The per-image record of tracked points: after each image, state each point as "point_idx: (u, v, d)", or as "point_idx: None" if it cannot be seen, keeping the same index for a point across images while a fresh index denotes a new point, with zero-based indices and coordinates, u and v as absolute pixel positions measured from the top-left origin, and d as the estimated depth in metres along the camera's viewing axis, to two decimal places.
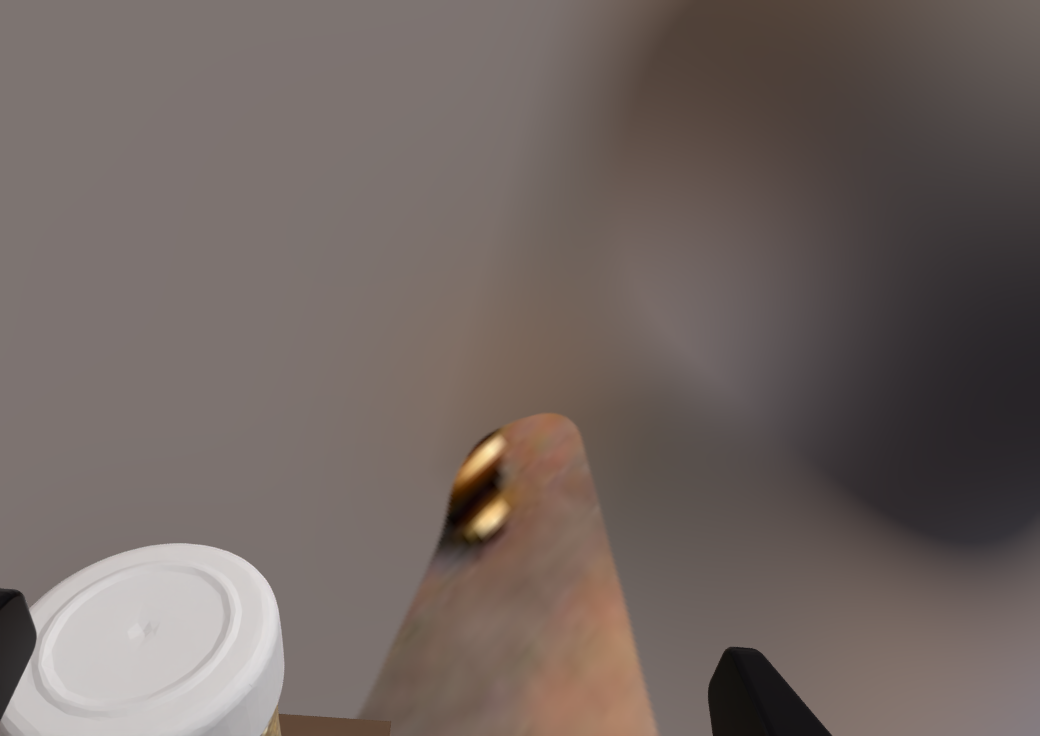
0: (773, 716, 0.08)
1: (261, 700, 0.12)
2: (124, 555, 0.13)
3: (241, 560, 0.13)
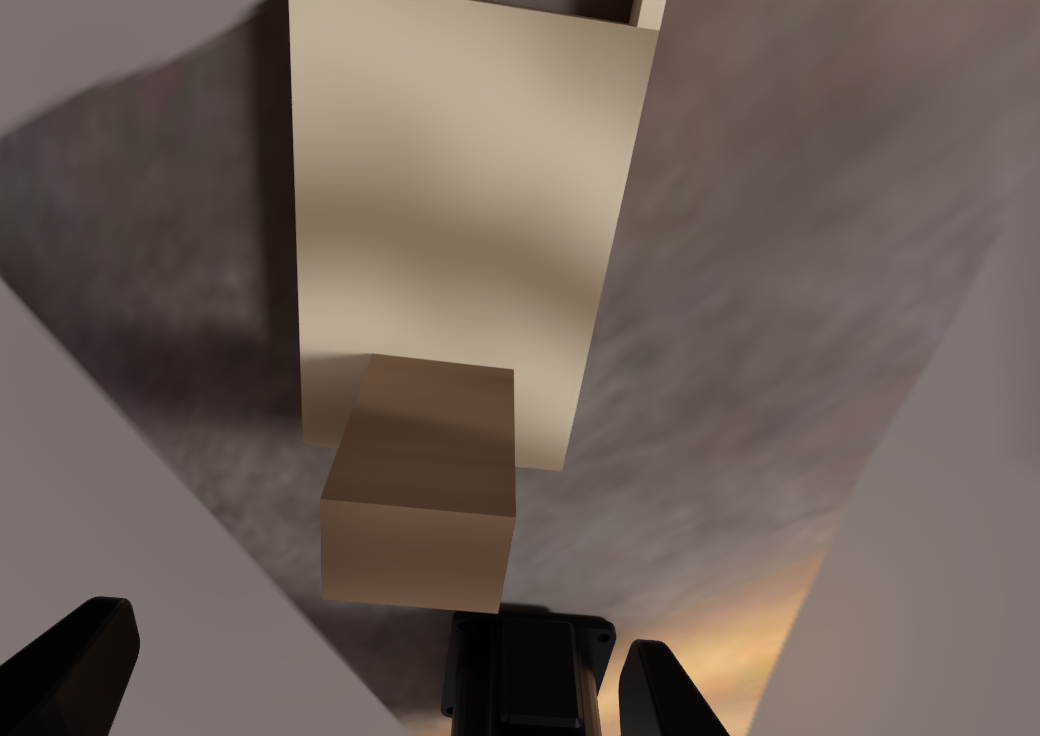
0: (667, 708, 0.08)
1: None
2: None
3: None
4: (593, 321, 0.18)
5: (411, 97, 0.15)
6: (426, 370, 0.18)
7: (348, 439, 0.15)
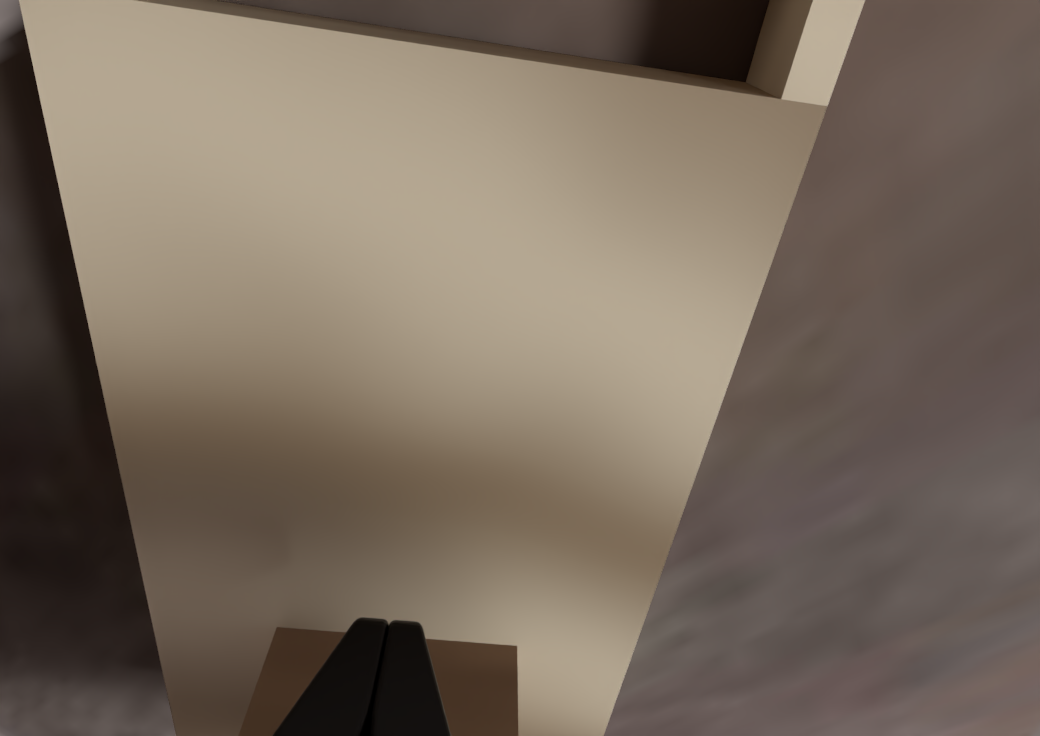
0: (388, 689, 0.07)
1: None
2: None
3: None
4: (655, 583, 0.11)
5: (311, 234, 0.08)
6: None
7: None
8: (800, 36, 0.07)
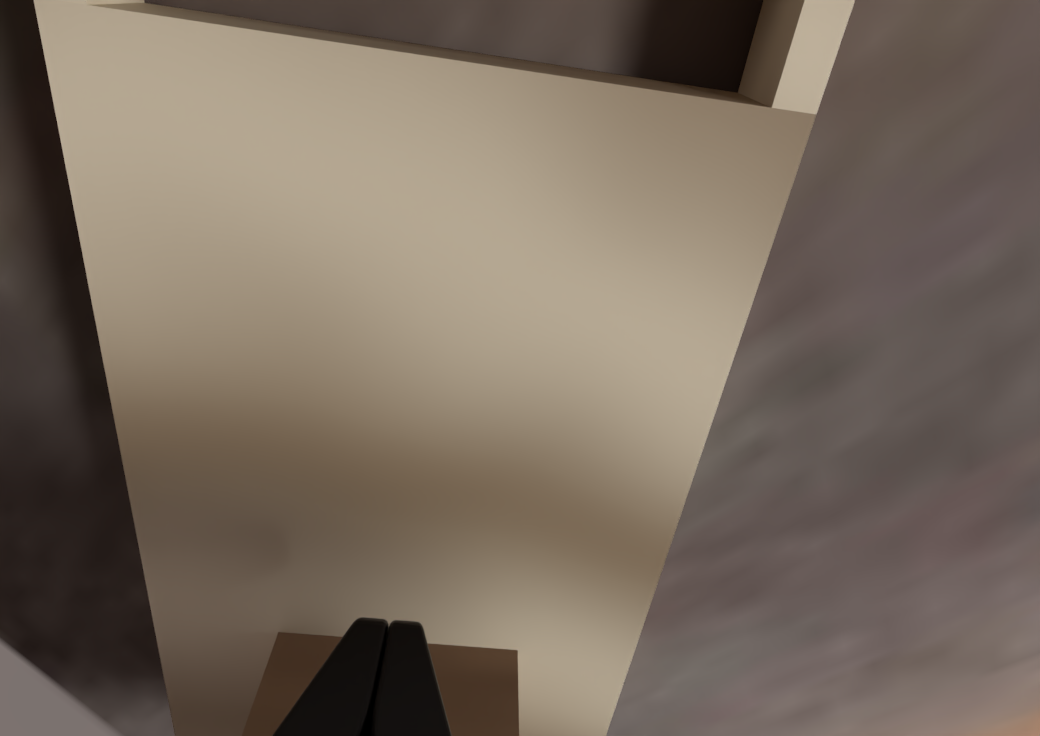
0: (388, 689, 0.07)
1: None
2: None
3: None
4: (654, 586, 0.11)
5: (315, 239, 0.08)
6: None
7: None
8: (789, 47, 0.07)
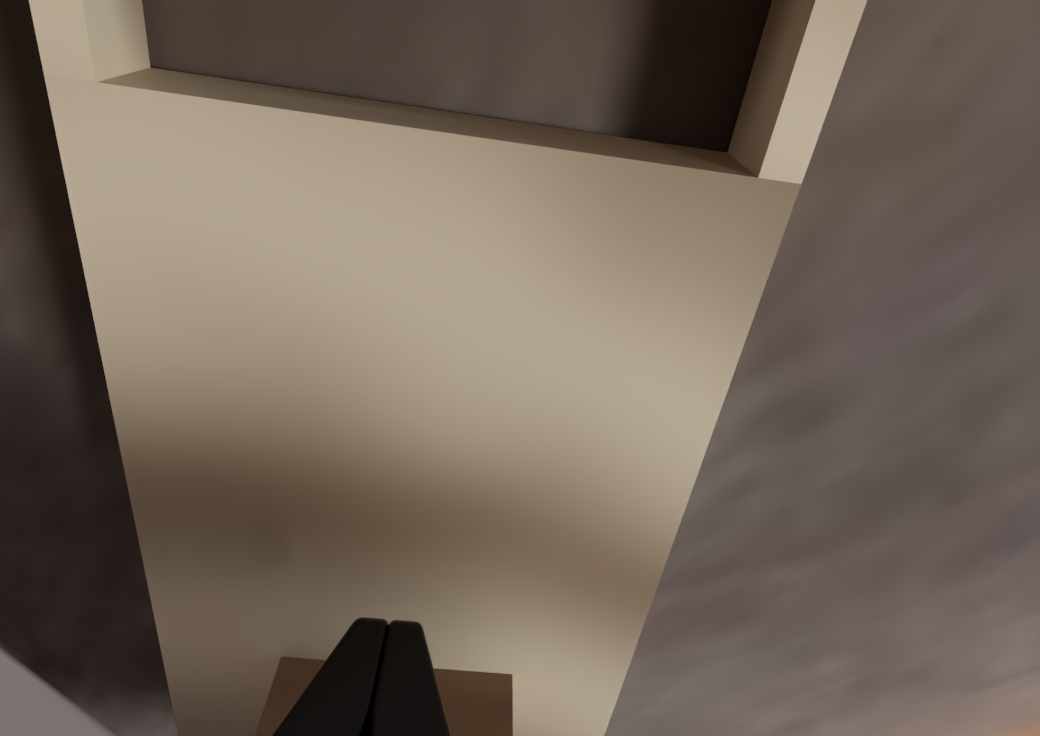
0: (388, 689, 0.07)
1: None
2: None
3: None
4: (644, 616, 0.11)
5: (317, 298, 0.08)
6: None
7: None
8: (775, 122, 0.07)
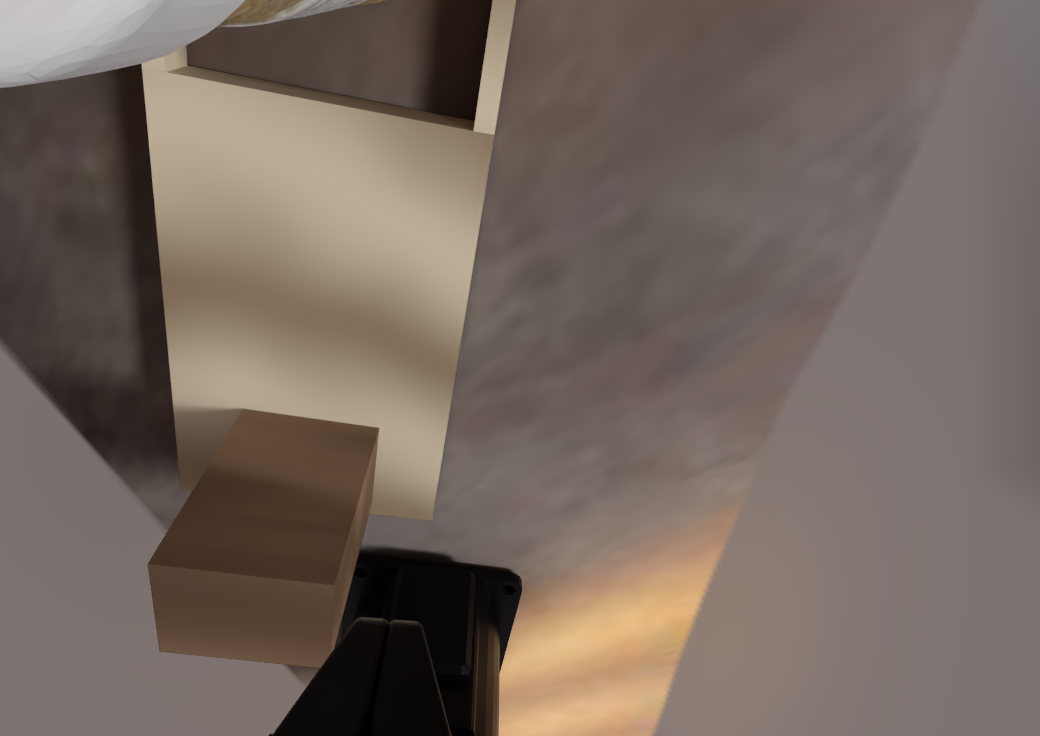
0: (388, 689, 0.07)
1: None
2: None
3: None
4: (451, 387, 0.19)
5: (265, 182, 0.16)
6: (291, 427, 0.19)
7: (192, 501, 0.16)
8: (477, 105, 0.15)
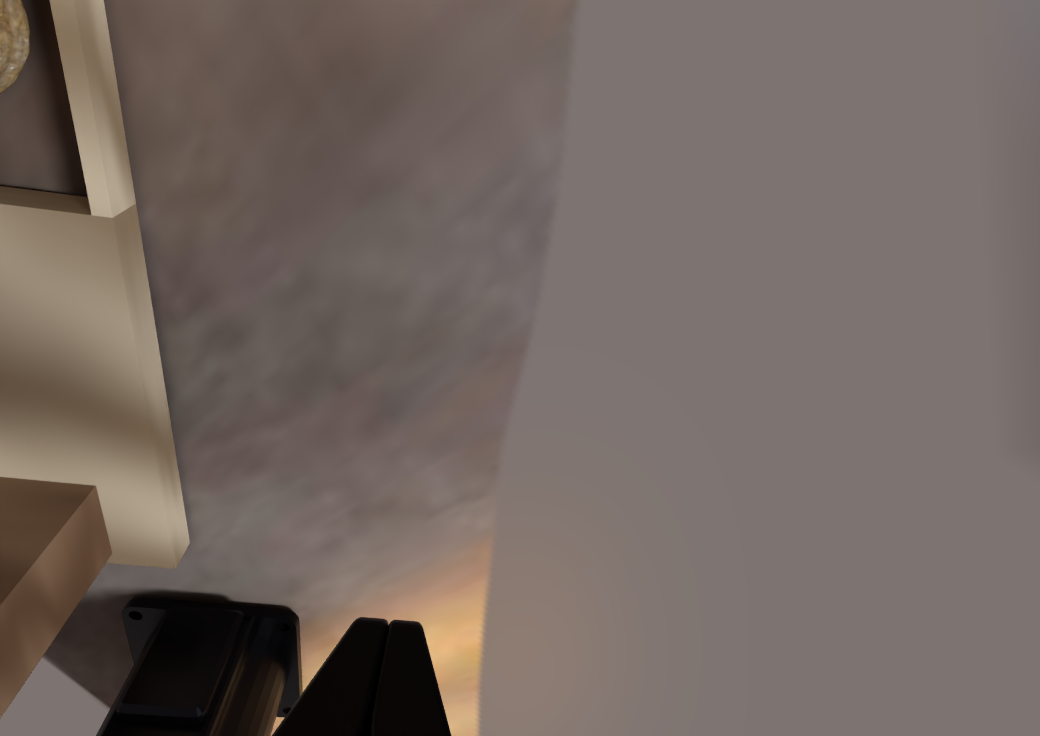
0: (388, 689, 0.07)
1: None
2: None
3: None
4: (151, 446, 0.20)
5: None
6: (2, 490, 0.20)
7: None
8: (87, 192, 0.16)
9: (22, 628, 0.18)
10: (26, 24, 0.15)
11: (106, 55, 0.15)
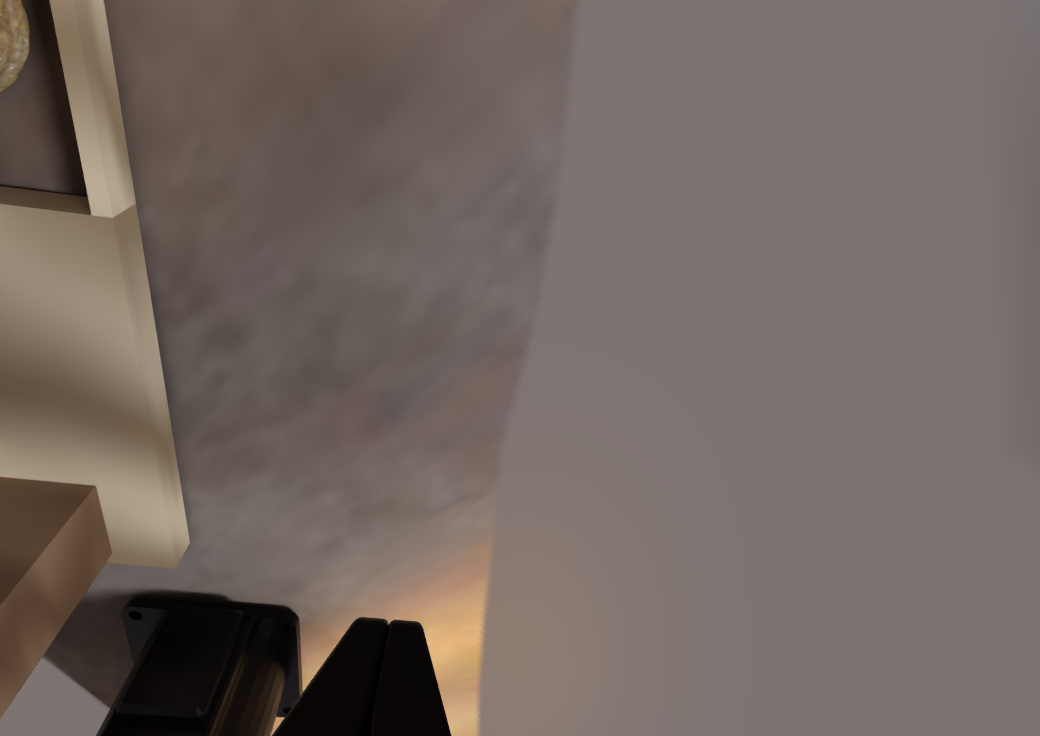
0: (388, 689, 0.07)
1: None
2: None
3: None
4: (151, 446, 0.20)
5: None
6: (2, 490, 0.20)
7: None
8: (87, 192, 0.16)
9: (22, 628, 0.18)
10: (26, 24, 0.15)
11: (106, 55, 0.15)
